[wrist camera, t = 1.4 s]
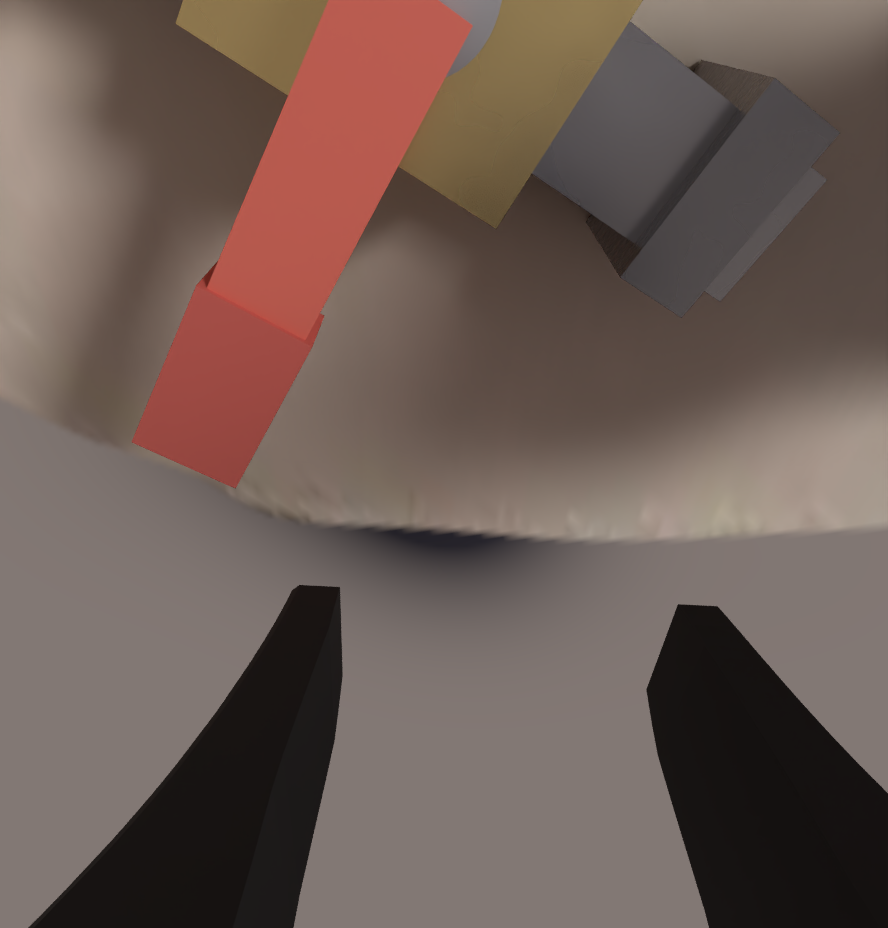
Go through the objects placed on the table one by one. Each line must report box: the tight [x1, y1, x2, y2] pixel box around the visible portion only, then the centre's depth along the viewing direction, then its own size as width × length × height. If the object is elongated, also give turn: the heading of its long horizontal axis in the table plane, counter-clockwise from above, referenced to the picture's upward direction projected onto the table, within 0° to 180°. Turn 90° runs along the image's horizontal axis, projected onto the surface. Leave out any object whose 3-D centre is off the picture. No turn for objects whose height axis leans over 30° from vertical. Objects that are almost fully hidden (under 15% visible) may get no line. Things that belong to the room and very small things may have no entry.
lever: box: [132, 0, 502, 488], centre depth 11 cm, size 10×2×2 cm, turn 149°
